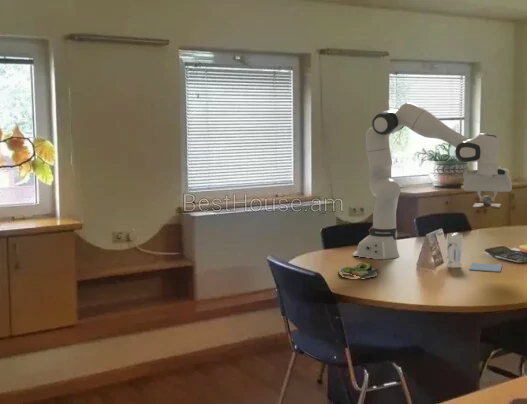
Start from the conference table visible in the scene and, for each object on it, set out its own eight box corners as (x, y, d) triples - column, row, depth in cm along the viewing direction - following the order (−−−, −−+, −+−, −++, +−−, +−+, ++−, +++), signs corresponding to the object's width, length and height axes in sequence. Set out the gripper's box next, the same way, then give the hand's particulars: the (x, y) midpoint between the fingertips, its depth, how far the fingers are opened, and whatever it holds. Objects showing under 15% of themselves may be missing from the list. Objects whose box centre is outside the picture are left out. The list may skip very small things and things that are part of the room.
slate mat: (469, 270, 297) (469, 269, 297) (472, 264, 309) (472, 262, 308) (500, 272, 292) (500, 271, 292) (502, 265, 303) (502, 264, 303)
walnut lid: (472, 208, 294) (472, 197, 293) (475, 204, 304) (475, 194, 303) (499, 209, 289) (499, 198, 289) (500, 205, 299) (501, 194, 299)
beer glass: (463, 268, 300) (463, 235, 298) (447, 268, 302) (447, 235, 300) (461, 265, 307) (462, 232, 305) (446, 264, 308) (446, 232, 307)
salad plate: (381, 282, 281) (382, 271, 281) (339, 282, 283) (339, 271, 282) (378, 271, 300) (378, 261, 300) (338, 271, 302) (338, 261, 301)
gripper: (462, 170, 296) (461, 201, 297) (511, 171, 288) (510, 203, 289) (464, 169, 301) (463, 199, 303) (512, 169, 293) (511, 201, 295)
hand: (487, 201), depth 296 cm, fingers closed on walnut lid, 3 cm apart
